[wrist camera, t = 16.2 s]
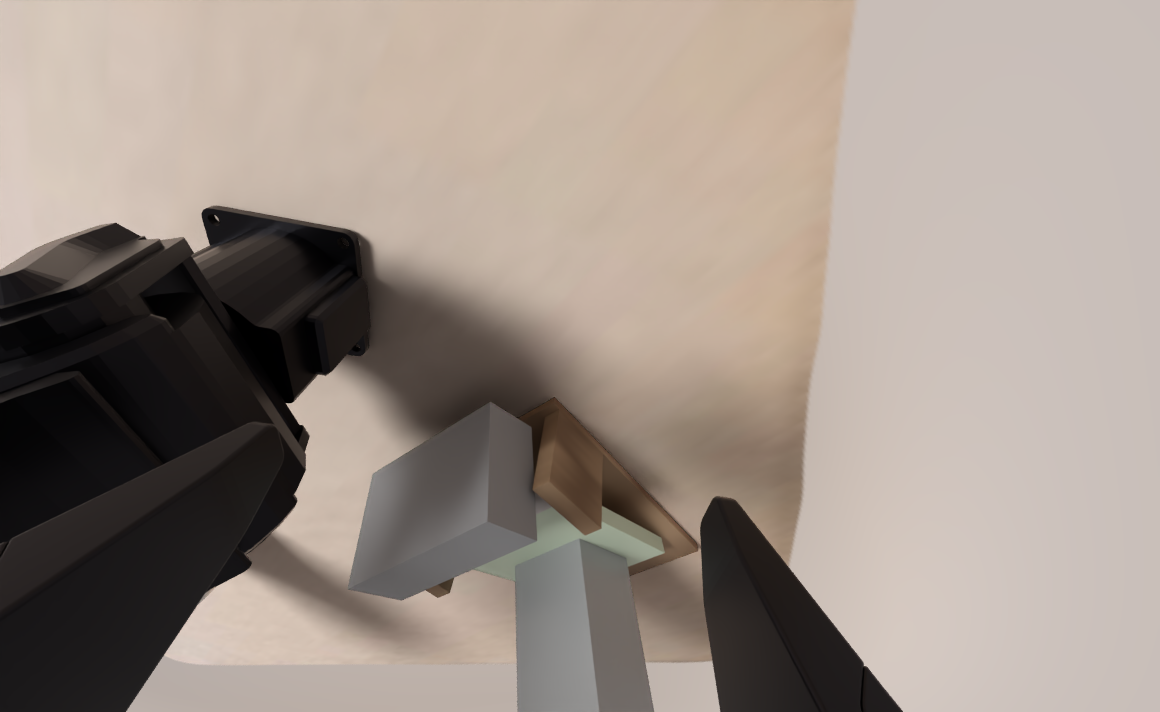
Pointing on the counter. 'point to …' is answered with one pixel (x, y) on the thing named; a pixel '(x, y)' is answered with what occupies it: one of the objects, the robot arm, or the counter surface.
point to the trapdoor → (469, 512)
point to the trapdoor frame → (590, 485)
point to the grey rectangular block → (578, 633)
